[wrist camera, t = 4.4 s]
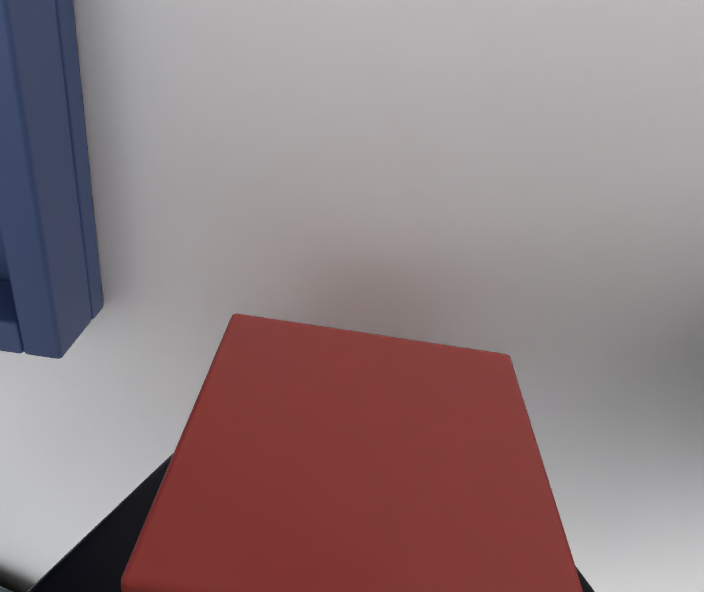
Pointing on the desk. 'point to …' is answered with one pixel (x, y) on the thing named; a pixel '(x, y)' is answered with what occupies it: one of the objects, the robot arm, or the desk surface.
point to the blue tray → (44, 183)
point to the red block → (353, 473)
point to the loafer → (4, 589)
